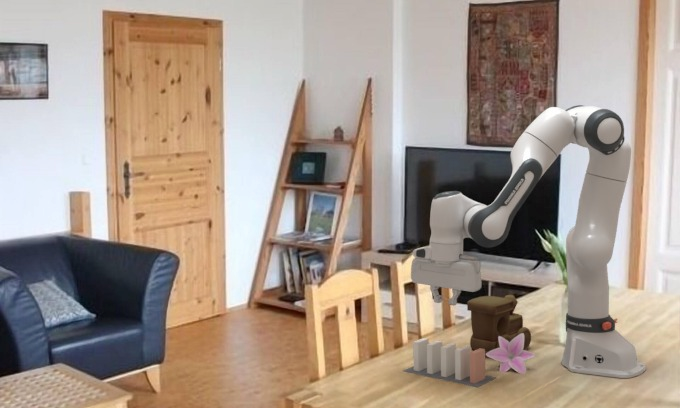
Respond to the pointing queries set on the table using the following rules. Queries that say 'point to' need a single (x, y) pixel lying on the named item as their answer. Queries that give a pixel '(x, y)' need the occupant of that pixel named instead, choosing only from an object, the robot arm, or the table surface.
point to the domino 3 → (448, 359)
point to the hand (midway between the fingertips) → (445, 303)
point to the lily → (511, 354)
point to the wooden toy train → (495, 322)
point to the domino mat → (450, 377)
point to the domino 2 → (434, 357)
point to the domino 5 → (477, 365)
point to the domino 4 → (462, 362)
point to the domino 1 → (420, 354)
